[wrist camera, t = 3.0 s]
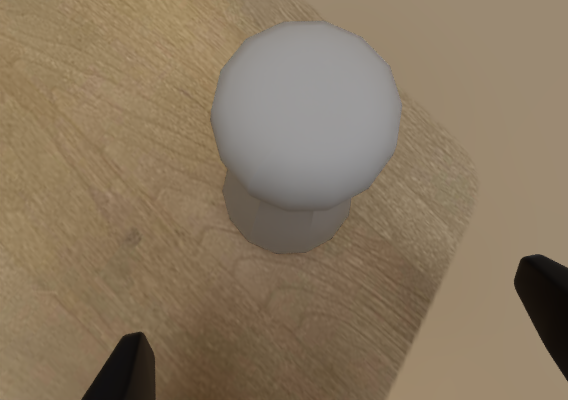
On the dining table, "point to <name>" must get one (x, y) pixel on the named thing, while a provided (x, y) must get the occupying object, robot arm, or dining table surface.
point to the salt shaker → (302, 131)
